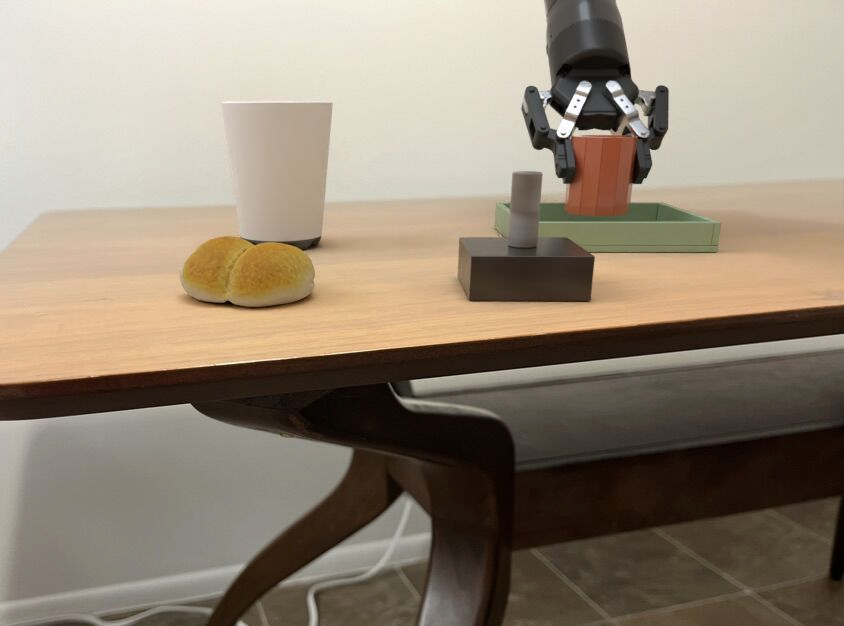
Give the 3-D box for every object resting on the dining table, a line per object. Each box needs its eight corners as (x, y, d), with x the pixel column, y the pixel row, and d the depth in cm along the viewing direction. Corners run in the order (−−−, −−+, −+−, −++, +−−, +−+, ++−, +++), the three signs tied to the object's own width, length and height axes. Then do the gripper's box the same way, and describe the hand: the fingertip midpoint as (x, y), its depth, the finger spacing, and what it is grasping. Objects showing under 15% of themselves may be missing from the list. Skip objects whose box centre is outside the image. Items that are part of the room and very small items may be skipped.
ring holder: (564, 277, 61) (573, 167, 59) (590, 301, 54) (603, 177, 51) (457, 276, 62) (462, 168, 59) (469, 300, 54) (475, 177, 51)
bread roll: (287, 313, 51) (285, 250, 50) (164, 302, 54) (160, 242, 53) (335, 287, 58) (334, 231, 57) (225, 278, 61) (222, 225, 60)
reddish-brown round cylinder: (618, 208, 80) (626, 134, 78) (636, 216, 75) (645, 137, 73) (559, 208, 81) (565, 134, 78) (572, 216, 75) (579, 137, 73)
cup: (270, 258, 69) (265, 100, 65) (207, 244, 76) (199, 101, 72) (355, 245, 76) (356, 100, 71) (290, 233, 83) (287, 101, 78)
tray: (659, 227, 85) (662, 202, 84) (717, 252, 71) (721, 222, 70) (494, 227, 86) (495, 202, 85) (518, 252, 72) (520, 222, 71)
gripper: (520, 16, 79) (534, 150, 72) (670, 15, 79) (699, 150, 71) (508, 76, 86) (519, 204, 79) (646, 75, 85) (670, 204, 78)
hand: (605, 177), depth 75 cm, fingers closed on reddish-brown round cylinder, 6 cm apart
